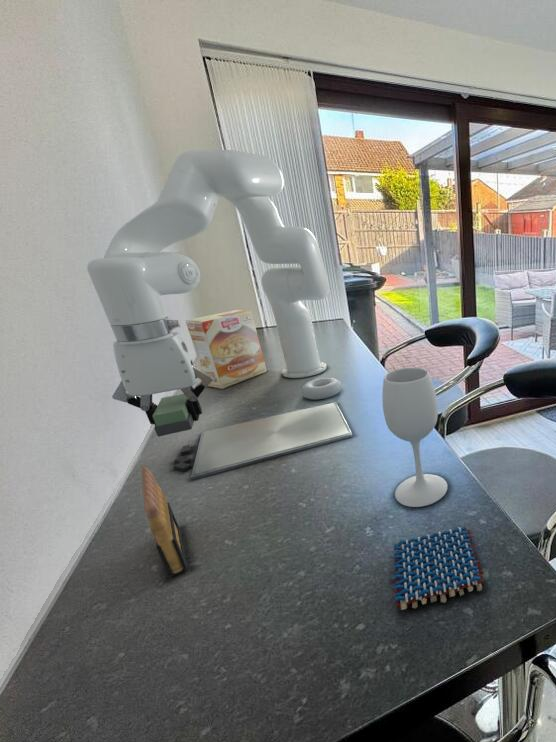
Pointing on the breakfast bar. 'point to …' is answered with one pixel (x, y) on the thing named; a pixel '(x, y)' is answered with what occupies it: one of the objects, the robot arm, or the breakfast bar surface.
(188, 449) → the dark grey small bar
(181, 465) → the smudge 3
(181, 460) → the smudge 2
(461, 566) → the woven mat
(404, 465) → the breakfast bar surface
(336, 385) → the donut
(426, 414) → the wineglass
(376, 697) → the breakfast bar surface
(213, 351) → the coffeecake box
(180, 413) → the eraser
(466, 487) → the breakfast bar surface
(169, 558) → the ammunition clip
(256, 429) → the board
